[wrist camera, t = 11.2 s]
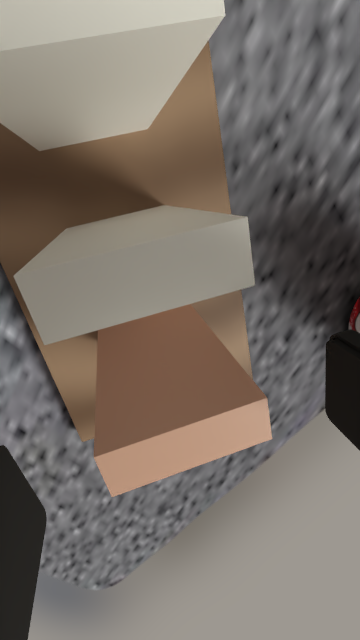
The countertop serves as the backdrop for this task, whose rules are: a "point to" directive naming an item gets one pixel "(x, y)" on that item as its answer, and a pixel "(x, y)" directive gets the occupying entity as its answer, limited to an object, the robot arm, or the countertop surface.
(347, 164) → the countertop surface
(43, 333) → the domino
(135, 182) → the board
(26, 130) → the domino
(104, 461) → the end domino
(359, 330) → the soda can
